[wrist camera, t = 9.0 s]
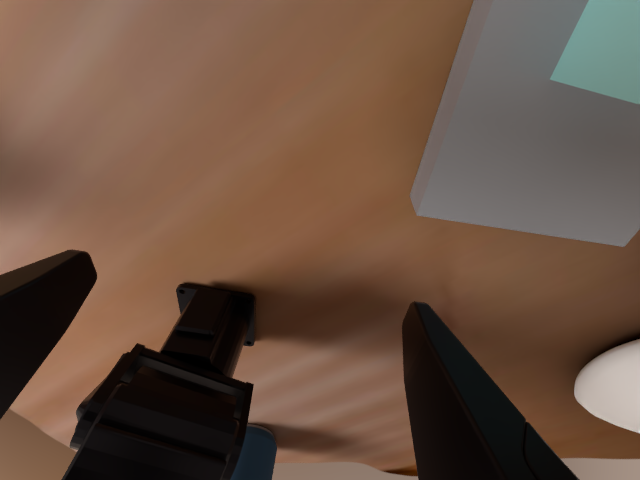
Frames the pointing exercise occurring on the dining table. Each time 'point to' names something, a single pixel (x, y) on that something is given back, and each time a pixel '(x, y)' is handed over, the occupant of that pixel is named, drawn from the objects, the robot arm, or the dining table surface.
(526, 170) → the slate board
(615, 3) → the teal cube
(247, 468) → the soda can
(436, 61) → the dining table surface
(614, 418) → the flower in vase
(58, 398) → the dining table surface
